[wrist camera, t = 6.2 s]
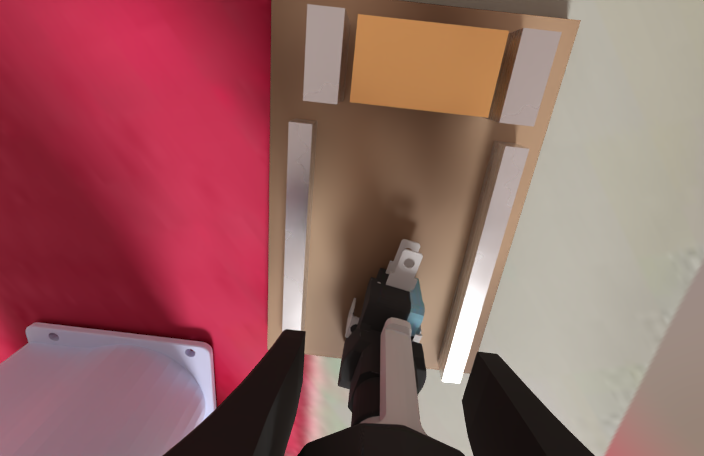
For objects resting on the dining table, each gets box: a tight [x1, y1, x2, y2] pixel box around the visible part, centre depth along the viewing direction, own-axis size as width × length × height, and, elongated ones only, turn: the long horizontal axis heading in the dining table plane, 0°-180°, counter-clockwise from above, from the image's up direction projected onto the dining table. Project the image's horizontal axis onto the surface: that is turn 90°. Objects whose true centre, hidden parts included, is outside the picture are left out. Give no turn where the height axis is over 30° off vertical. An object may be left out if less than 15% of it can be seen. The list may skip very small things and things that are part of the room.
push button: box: [298, 239, 465, 456], centre depth 11 cm, size 7×5×10 cm
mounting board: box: [268, 0, 581, 374], centre depth 14 cm, size 10×15×1 cm, turn 174°
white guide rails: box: [282, 4, 562, 383], centre depth 13 cm, size 8×14×3 cm, turn 174°
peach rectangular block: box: [350, 14, 509, 118], centre depth 10 cm, size 4×2×2 cm, turn 84°
